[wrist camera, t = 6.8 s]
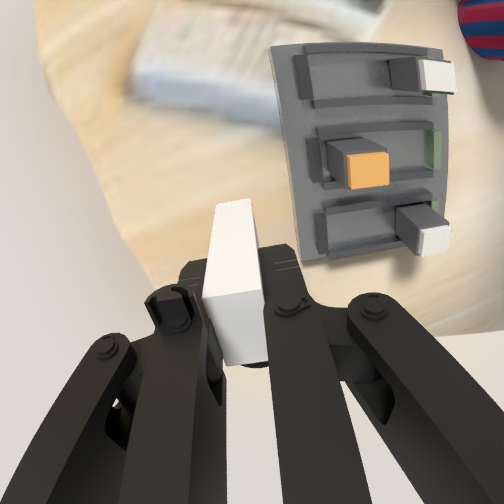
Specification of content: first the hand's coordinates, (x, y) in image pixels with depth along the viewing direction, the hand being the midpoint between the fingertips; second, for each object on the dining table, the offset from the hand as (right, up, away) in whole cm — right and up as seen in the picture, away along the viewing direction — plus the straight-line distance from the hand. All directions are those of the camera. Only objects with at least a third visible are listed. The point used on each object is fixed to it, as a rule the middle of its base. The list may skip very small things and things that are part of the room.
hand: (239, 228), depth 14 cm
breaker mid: (+7, +6, +7) cm, 12 cm away
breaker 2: (+14, +2, +10) cm, 17 cm away
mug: (+21, +21, +1) cm, 30 cm away
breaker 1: (+12, +12, +4) cm, 17 cm away
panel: (+10, +7, +8) cm, 15 cm away
